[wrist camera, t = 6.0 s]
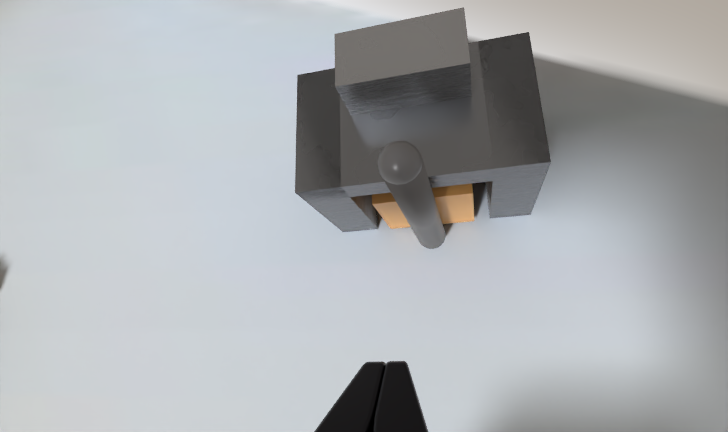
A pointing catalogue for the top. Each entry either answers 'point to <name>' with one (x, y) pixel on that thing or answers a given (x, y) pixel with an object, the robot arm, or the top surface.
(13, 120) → the top surface
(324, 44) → the top surface
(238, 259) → the top surface
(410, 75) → the housing
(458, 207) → the plug
